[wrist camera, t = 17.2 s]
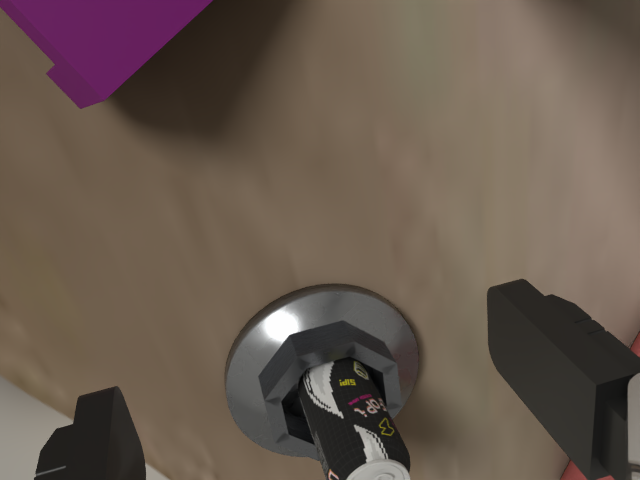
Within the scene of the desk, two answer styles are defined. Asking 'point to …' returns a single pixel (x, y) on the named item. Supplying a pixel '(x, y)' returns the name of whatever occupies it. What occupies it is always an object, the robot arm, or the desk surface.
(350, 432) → the beverage can
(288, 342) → the rosette socket
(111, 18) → the mounting bracket
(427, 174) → the desk surface
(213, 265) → the desk surface
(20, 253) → the desk surface
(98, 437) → the robot arm
